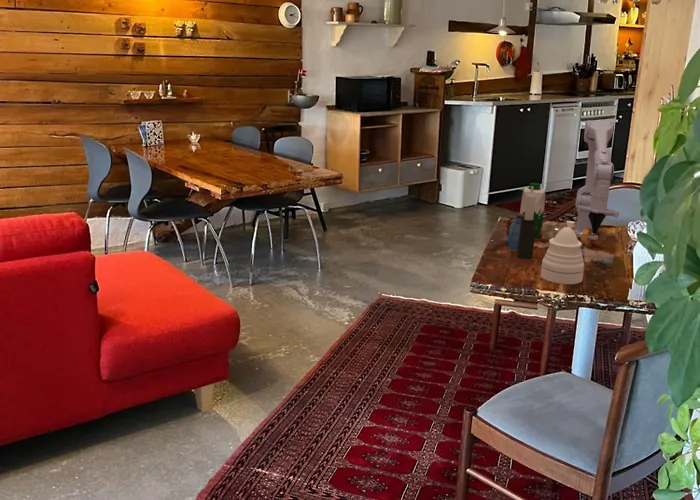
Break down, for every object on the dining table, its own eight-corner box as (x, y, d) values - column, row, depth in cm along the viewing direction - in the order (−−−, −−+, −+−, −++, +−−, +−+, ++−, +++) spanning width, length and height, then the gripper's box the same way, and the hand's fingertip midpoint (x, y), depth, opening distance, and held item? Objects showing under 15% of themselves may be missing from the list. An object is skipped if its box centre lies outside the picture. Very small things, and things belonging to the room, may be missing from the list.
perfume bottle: (524, 244, 250) (527, 213, 247) (527, 249, 245) (530, 217, 241) (507, 243, 251) (510, 212, 247) (509, 248, 245) (513, 216, 242)
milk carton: (541, 233, 267) (546, 183, 261) (540, 239, 258) (546, 187, 253) (518, 230, 269) (523, 181, 263) (517, 236, 261) (522, 185, 255)
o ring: (580, 244, 250) (582, 229, 248) (585, 241, 255) (587, 226, 253) (585, 246, 249) (587, 230, 247) (590, 242, 253) (592, 227, 252)
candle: (532, 259, 233) (540, 188, 226) (517, 257, 234) (525, 187, 227) (531, 254, 238) (539, 185, 231) (517, 253, 239) (524, 184, 232)
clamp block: (541, 238, 259) (543, 223, 257) (546, 235, 263) (548, 221, 261) (551, 240, 257) (553, 225, 255) (556, 237, 261) (558, 222, 259)
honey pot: (550, 268, 224) (556, 216, 219) (588, 277, 216) (596, 223, 211) (533, 277, 214) (540, 223, 209) (573, 287, 206) (580, 230, 201)
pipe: (543, 231, 259) (544, 226, 259) (545, 230, 261) (546, 225, 260) (596, 241, 248) (596, 235, 247) (597, 240, 250) (598, 234, 249)
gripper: (576, 195, 246) (571, 231, 250) (617, 201, 238) (611, 238, 242) (582, 192, 251) (578, 227, 255) (622, 198, 243) (617, 234, 247)
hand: (594, 233), depth 249 cm, fingers closed
